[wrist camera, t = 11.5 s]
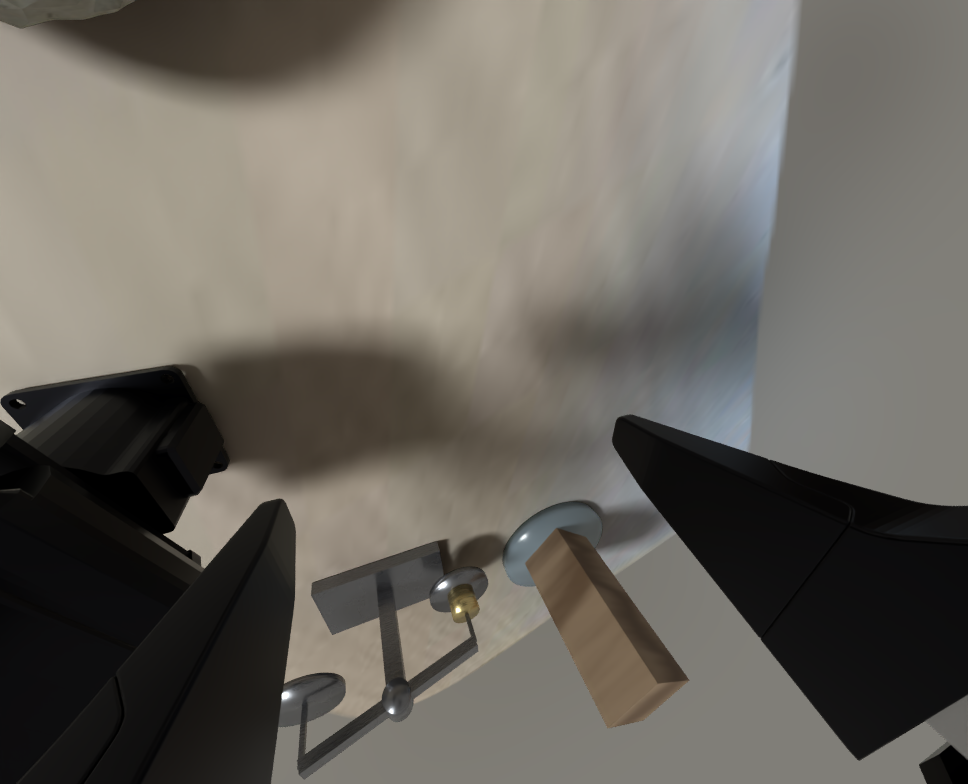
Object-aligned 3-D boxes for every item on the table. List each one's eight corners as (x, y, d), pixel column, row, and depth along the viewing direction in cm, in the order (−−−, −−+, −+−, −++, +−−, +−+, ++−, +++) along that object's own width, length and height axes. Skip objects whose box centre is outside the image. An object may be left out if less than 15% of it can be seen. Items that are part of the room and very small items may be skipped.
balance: (290, 638, 29) (270, 813, 21) (263, 599, 26) (229, 786, 18) (477, 569, 34) (522, 690, 26) (473, 528, 31) (523, 651, 22)
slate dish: (503, 591, 37) (506, 599, 36) (501, 523, 32) (505, 532, 31) (590, 556, 40) (595, 563, 39) (602, 488, 35) (609, 495, 34)
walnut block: (524, 563, 34) (607, 728, 24) (556, 527, 33) (657, 683, 23) (556, 569, 37) (643, 720, 26) (586, 537, 36) (689, 680, 25)
